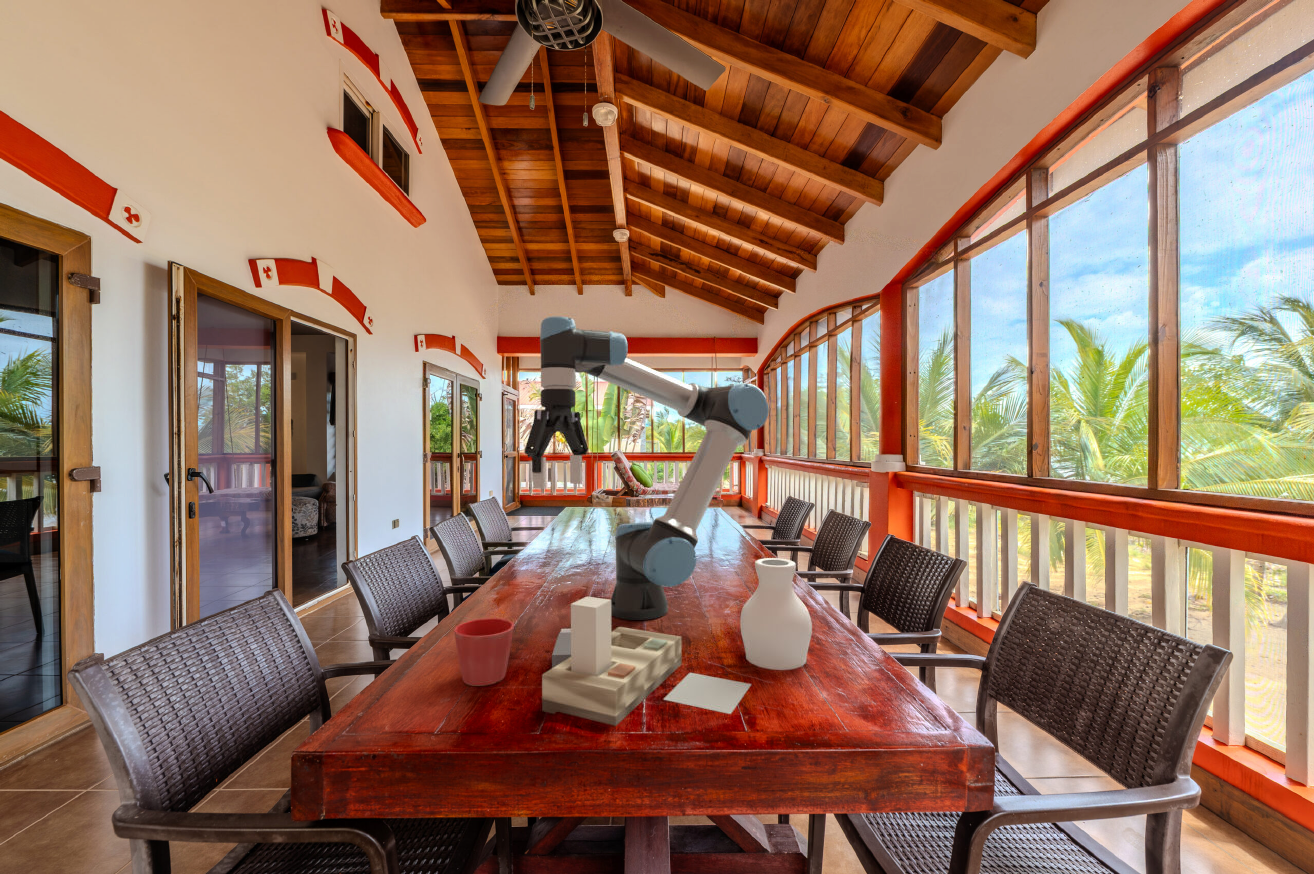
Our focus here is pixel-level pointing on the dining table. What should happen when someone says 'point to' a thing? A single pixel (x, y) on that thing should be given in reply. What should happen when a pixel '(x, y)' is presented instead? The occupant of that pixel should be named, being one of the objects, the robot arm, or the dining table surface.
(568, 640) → the plug
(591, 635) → the plug
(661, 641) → the socket box
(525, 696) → the dining table surface
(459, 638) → the flower pot
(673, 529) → the robot arm
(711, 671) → the dining table surface
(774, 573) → the vase
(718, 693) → the mat
